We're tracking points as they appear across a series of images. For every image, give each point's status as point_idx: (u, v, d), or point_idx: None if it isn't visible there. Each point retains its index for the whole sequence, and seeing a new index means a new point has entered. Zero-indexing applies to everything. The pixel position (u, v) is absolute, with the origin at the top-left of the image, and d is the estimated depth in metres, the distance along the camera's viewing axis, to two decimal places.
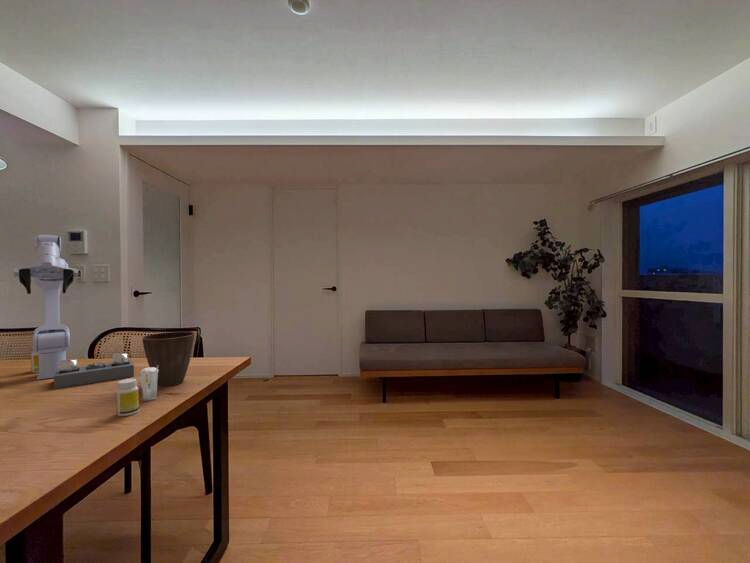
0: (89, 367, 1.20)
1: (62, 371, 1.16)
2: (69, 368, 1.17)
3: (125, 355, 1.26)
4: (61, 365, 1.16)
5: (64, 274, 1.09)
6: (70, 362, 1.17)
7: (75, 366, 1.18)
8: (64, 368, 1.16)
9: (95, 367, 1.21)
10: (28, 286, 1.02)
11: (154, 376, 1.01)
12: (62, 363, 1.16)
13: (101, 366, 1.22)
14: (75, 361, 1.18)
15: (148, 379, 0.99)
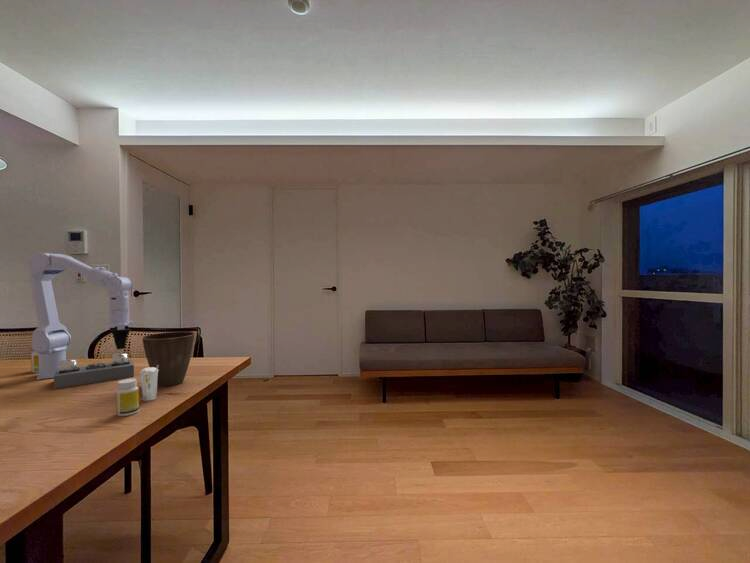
0: (89, 367, 1.20)
1: (62, 371, 1.16)
2: (69, 368, 1.17)
3: (125, 355, 1.26)
4: (61, 365, 1.16)
5: None
6: (70, 362, 1.17)
7: (75, 366, 1.18)
8: (64, 368, 1.16)
9: (95, 367, 1.21)
10: (124, 346, 1.25)
11: (154, 376, 1.01)
12: (62, 363, 1.16)
13: (101, 366, 1.22)
14: (75, 361, 1.18)
15: (148, 379, 0.99)
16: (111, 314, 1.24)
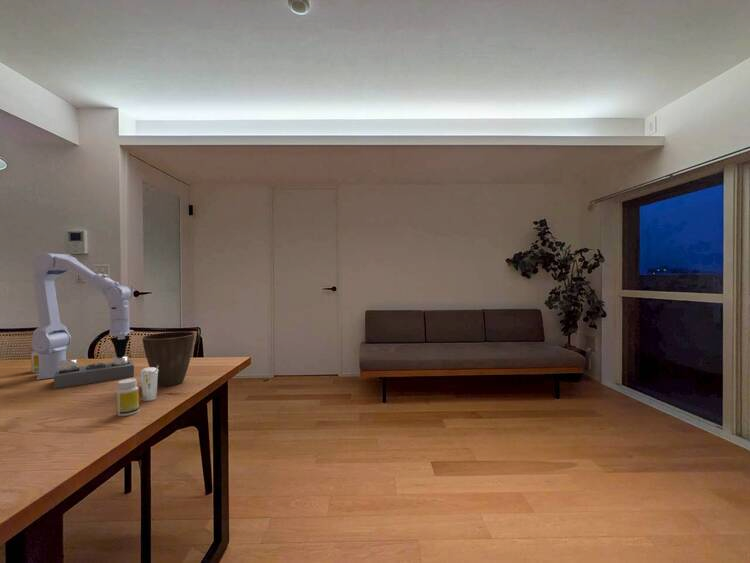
0: (89, 367, 1.20)
1: (62, 371, 1.16)
2: (69, 368, 1.17)
3: (125, 358, 1.26)
4: (61, 365, 1.16)
5: None
6: (70, 362, 1.17)
7: (75, 366, 1.18)
8: (64, 368, 1.16)
9: (95, 367, 1.21)
10: (124, 354, 1.27)
11: (154, 376, 1.01)
12: (62, 363, 1.16)
13: (101, 366, 1.22)
14: (75, 361, 1.18)
15: (148, 379, 0.99)
16: (112, 324, 1.24)
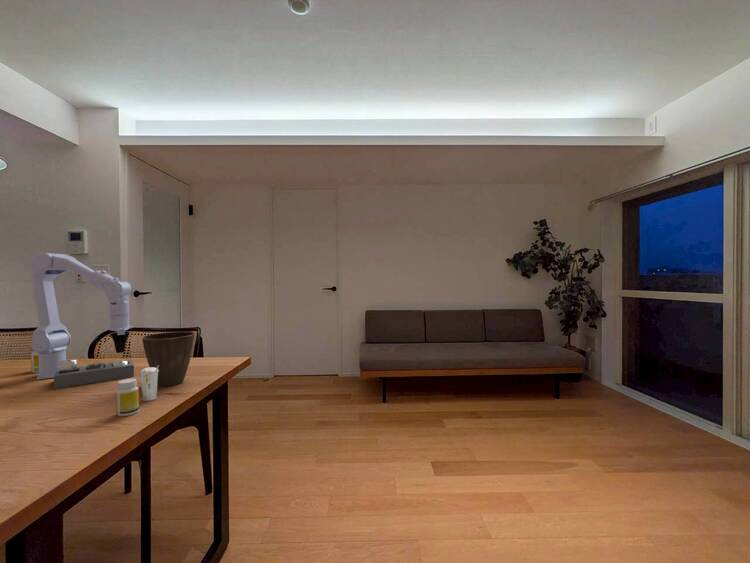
0: (89, 367, 1.20)
1: (62, 371, 1.16)
2: (69, 368, 1.17)
3: (125, 362, 1.26)
4: (61, 365, 1.16)
5: None
6: (70, 362, 1.17)
7: (75, 366, 1.18)
8: (64, 368, 1.16)
9: (95, 367, 1.21)
10: None
11: (154, 376, 1.01)
12: (62, 363, 1.16)
13: (101, 366, 1.22)
14: (75, 361, 1.18)
15: (148, 379, 0.99)
16: (111, 319, 1.24)
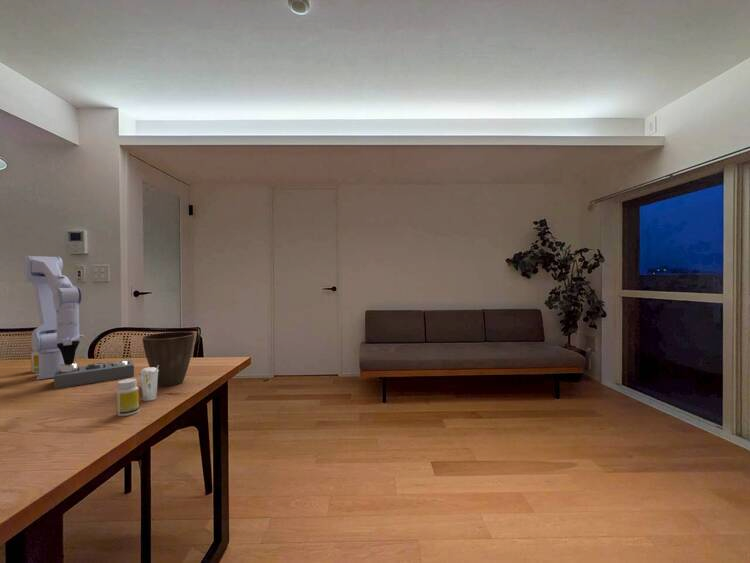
0: (89, 367, 1.20)
1: None
2: None
3: (125, 362, 1.26)
4: (61, 369, 1.16)
5: None
6: (70, 365, 1.17)
7: (75, 369, 1.18)
8: (64, 372, 1.16)
9: (95, 367, 1.21)
10: (73, 360, 1.18)
11: (154, 376, 1.01)
12: (62, 367, 1.16)
13: (101, 366, 1.22)
14: (75, 364, 1.18)
15: (148, 379, 0.99)
16: (58, 328, 1.15)
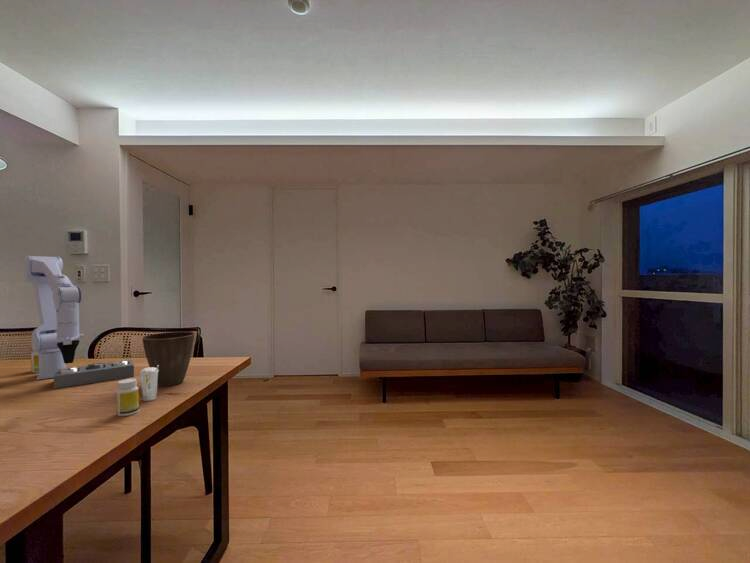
0: (89, 367, 1.20)
1: None
2: None
3: (125, 362, 1.26)
4: None
5: None
6: (70, 370, 1.17)
7: None
8: None
9: (95, 367, 1.21)
10: (73, 360, 1.18)
11: (154, 376, 1.01)
12: (62, 371, 1.16)
13: (101, 366, 1.22)
14: (75, 369, 1.18)
15: (148, 379, 0.99)
16: (58, 328, 1.15)
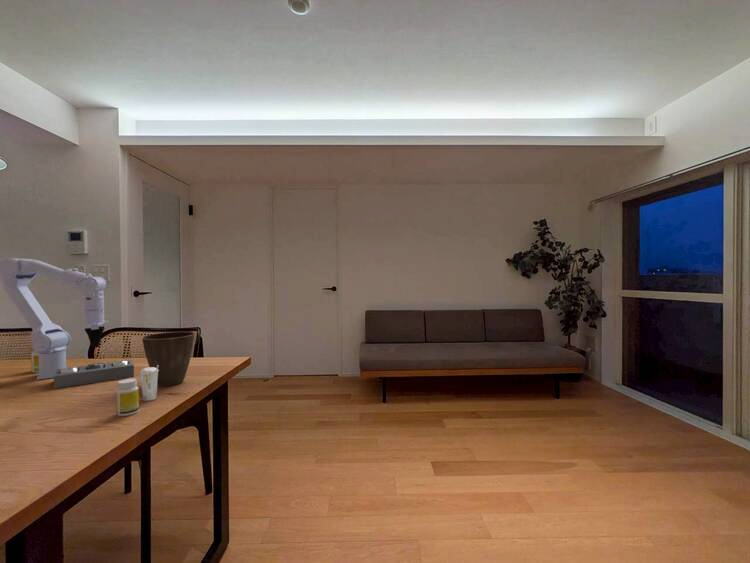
0: (89, 367, 1.20)
1: None
2: None
3: (125, 362, 1.26)
4: None
5: None
6: (70, 370, 1.17)
7: None
8: None
9: (95, 367, 1.21)
10: (99, 344, 1.28)
11: (154, 376, 1.01)
12: (62, 371, 1.16)
13: (101, 366, 1.22)
14: (75, 369, 1.18)
15: (148, 379, 1.00)
16: (86, 314, 1.25)
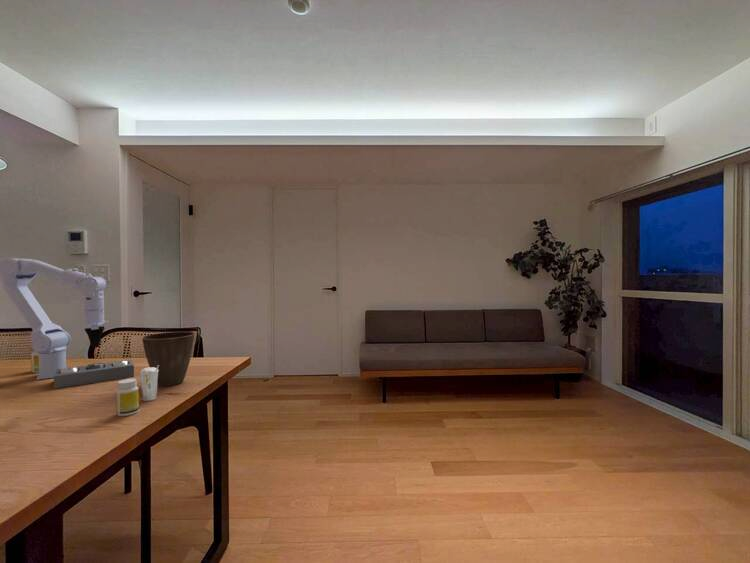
0: (89, 367, 1.20)
1: None
2: None
3: (125, 362, 1.26)
4: None
5: None
6: (70, 370, 1.17)
7: None
8: None
9: (95, 367, 1.21)
10: (99, 344, 1.28)
11: (154, 376, 1.01)
12: (62, 371, 1.16)
13: (101, 366, 1.22)
14: (75, 369, 1.18)
15: (148, 379, 0.99)
16: (86, 314, 1.25)
